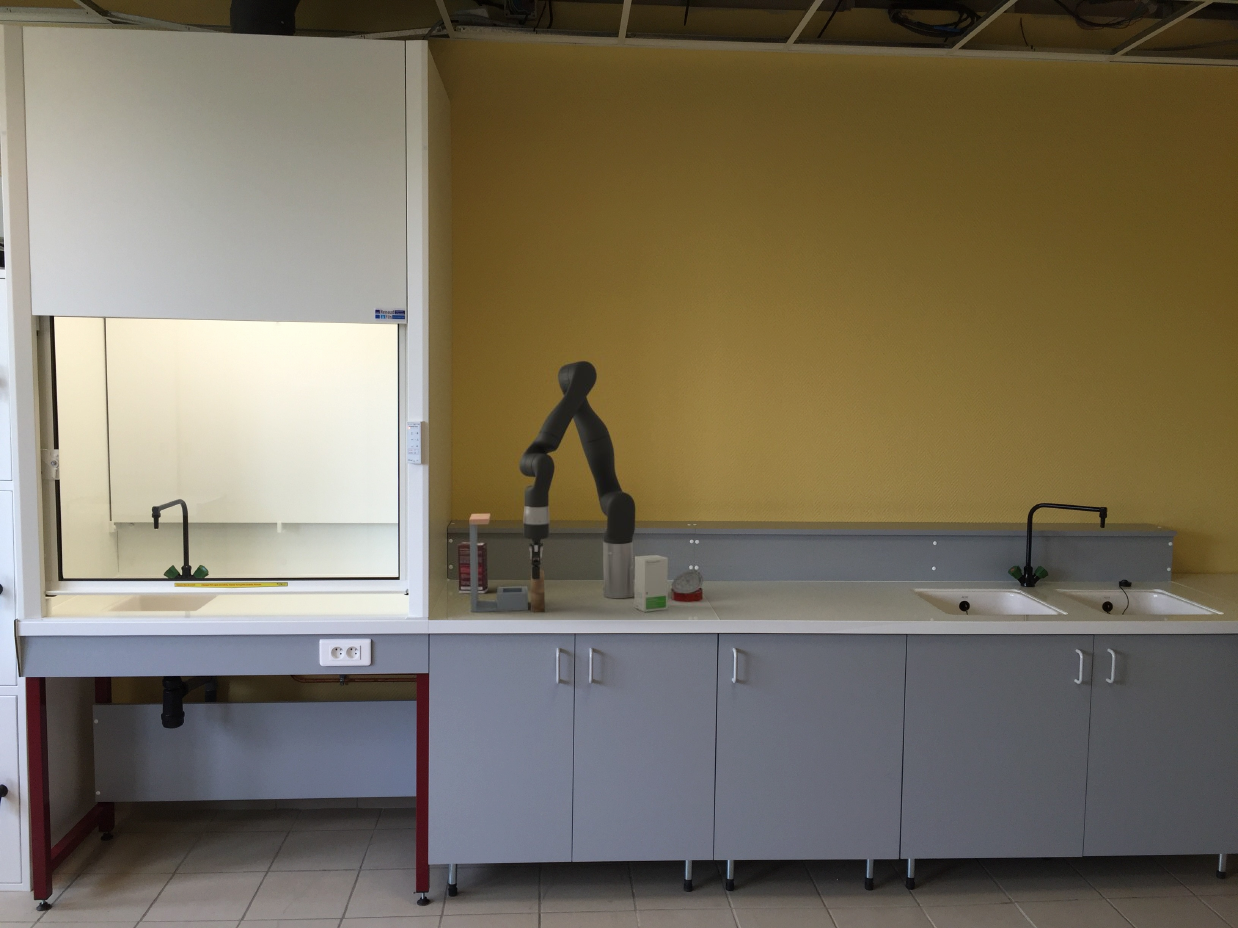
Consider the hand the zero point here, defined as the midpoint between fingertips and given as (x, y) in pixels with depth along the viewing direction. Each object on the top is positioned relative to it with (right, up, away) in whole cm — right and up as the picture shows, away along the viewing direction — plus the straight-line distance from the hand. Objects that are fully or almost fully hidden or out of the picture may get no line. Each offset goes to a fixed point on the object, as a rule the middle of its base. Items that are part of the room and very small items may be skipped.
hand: (536, 575), depth 241 cm
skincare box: (+34, -10, +3) cm, 36 cm away
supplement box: (-23, -9, +24) cm, 34 cm away
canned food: (+46, -9, +16) cm, 49 cm away
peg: (+1, -10, +1) cm, 10 cm away
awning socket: (-11, -10, +5) cm, 16 cm away
